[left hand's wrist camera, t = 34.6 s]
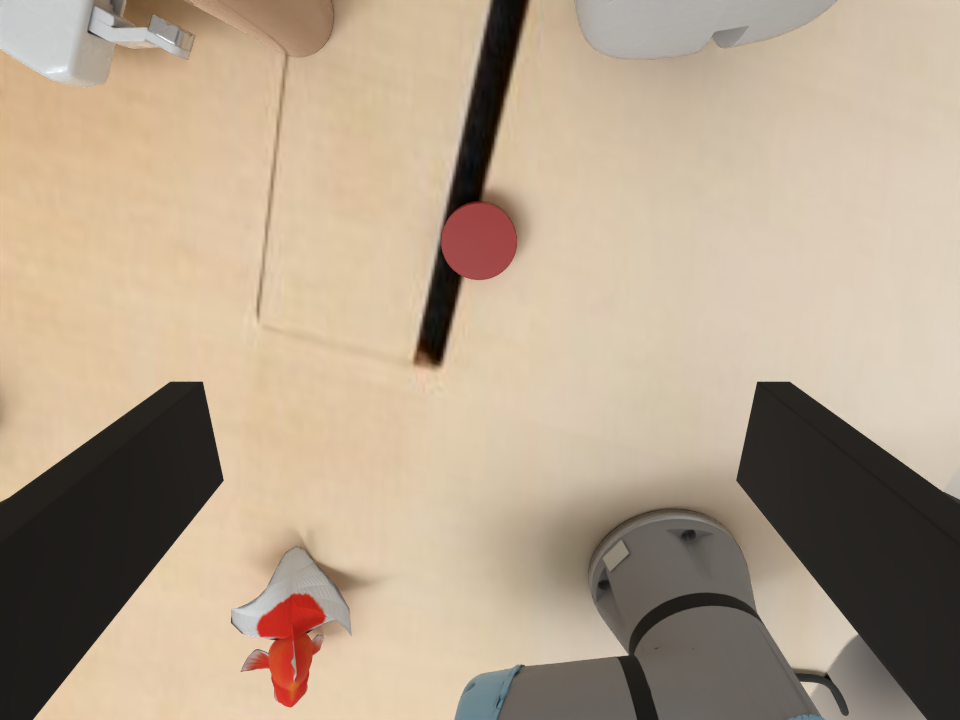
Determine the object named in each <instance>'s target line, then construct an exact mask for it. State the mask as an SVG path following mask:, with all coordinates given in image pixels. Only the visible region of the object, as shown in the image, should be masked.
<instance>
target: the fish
mask: <svg viewBox="0 0 960 720" xmlns="http://www.w3.org/2000/svg"><path fill="white" fill-rule="evenodd" d="M332 620H336V621H338V622H339V623H340V624H341V625H342V626H343V627H345V629H346V630H347V631H348V632H349V633H350V635H351V624H350V612H349V607H348V606H347V604H346V602H345V600H344V599H343V597H342V595H341V594H340V592H339V590H338V588H337V587H336V585H335V584H334V583H333V582H332V581H331V580H330V578H329V577H328V576H327V575H326V574H325V573H324V572H323V571H322V570H321V569H320V568H319V566H318V565H317V564H316V563H315V562H314V561H313V559H312V558H311V557H310V555H309V554H308V553H307V552H306V551H305V550H304V549H302V548H300V547H297V546H295V547H293V548H292V549H290V550H289V551H287V552H286V553H285V555H284V556H283V558H282V560H281V561H280V563H279V565H278V567H277V569H276V571H275V573H274V574H273V576H272V578H271V580H270V582H269V584H268V586H267V588H266V589H265V590H264V591H263V593H262V594H261V595H260V596H259V597H257V598H256V599H254V600H253V601H251V602H250V603H248V604H246V605H244V606H241V607H239V608H236V609H231V623H232V624H233V625H234V626H235V627H236V628H237V629H238V630H239V631H240V632H241V633H242V634H245V635H248V636H251V637H256V638H263V639H270V640H275V641H274V643H273V644H272V645H271V647H270V649H269V654H268V653H267V652H265V651H262V650H258V649H257V650H255V651H253V652H252V653H251V655H250V656H249V657H248V658H247V659H246V661H245V663H244V665H243V667H242V670H241V672H242V671H250V670H255V669H263V668H269V669H270V671H271V674H272V677H271V679H272V683H273V686H274V697H275V700H276V701H278V702H280V703H282V704H283V705H284V706H287V707H293V706H294V705H295V704H296V703H297V702H298V701H299V699H300V698H301V697H302V696H303V695H304V694H305V693H306V691H307V681H308V677H309V668H310V666H311V662H312V655H314V654H316V653H317V652H318V651H319V650H320V648H321V644H322V642H323V639H324V638H323V636H321V635H317V636H316V637H315V638H314V639H313V640H312V641H311V639H310V637H309V636H308V635H307V633H309V632H310V631H312V630H314V629H315V628H317V627H318V626H320V625H322V624H323V623H327V622H330V621H332Z"/></svg>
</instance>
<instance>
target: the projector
mask: <svg viewBox="0 0 960 720" xmlns="http://www.w3.org/2000/svg"><path fill="white" fill-rule="evenodd" d="M836 1H837V0H575V6H576V12H577V16H578V20H579V24H580V27H581V30H582V33H583V35H584V37H585V39H586V40H587V42H588V43H589V44H590V45H591V46H592V47H593V48H594V49H595V50H597V51H598V52H600V53H602V54H604V55H606V56H609V57H613V58H618V59H627V60H648V59H661V58H669V57H677V56H683V55H689V54H695V53H697V52H699V51H700V50H701V49H702V48H703V47H704V46H705V45H706V44H707V43H708V41H709V40H710V39H711V37H712V38H713V39H714V41H715V43H716V44H717V45H718V46H719V47H721V48H730V47H735V46H741V45H745V44H750V43H754V42H759V41H763V40H766V39H770V38H773V37H776V36H780V35H782V34H785V33H787V32H790V31H792V30H795V29H797V28H799V27H801V26H803V25H805V24H807V23H809V22H810V21H812V20H814V19H815V18H817V17H818V16H819V15H821V14H822V13H823V12H825V11H826V10H827V9H829V8H830V7H831V6H832V5H833V4H834V3H835V2H836Z"/></svg>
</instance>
